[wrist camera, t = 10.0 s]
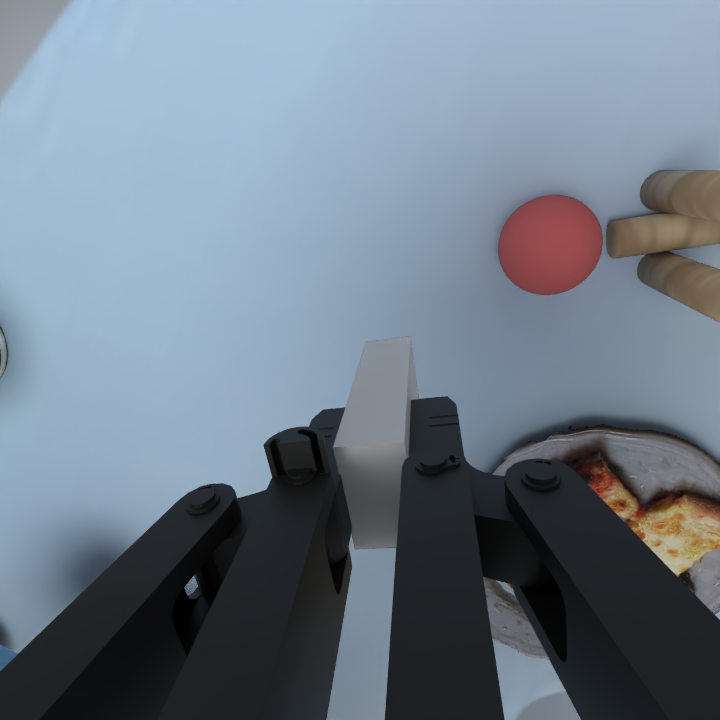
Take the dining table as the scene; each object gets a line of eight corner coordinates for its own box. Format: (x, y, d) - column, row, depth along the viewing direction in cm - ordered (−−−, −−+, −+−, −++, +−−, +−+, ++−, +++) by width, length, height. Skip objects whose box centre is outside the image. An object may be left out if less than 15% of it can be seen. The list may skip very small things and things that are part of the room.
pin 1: (679, 206, 31) (767, 220, 23) (639, 212, 31) (711, 228, 23) (682, 167, 30) (774, 166, 22) (640, 173, 30) (716, 175, 22)
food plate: (574, 363, 35) (589, 384, 32) (811, 512, 38) (847, 545, 35) (394, 563, 45) (392, 594, 42) (590, 670, 48) (602, 707, 45)
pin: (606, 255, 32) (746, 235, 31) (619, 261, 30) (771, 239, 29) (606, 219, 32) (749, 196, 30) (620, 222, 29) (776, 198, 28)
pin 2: (674, 283, 32) (755, 319, 25) (636, 288, 33) (703, 325, 25) (677, 247, 32) (761, 274, 24) (637, 252, 32) (708, 280, 24)
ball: (540, 311, 27) (486, 298, 33) (628, 287, 28) (561, 278, 34) (530, 202, 25) (475, 208, 31) (625, 181, 26) (555, 190, 32)
